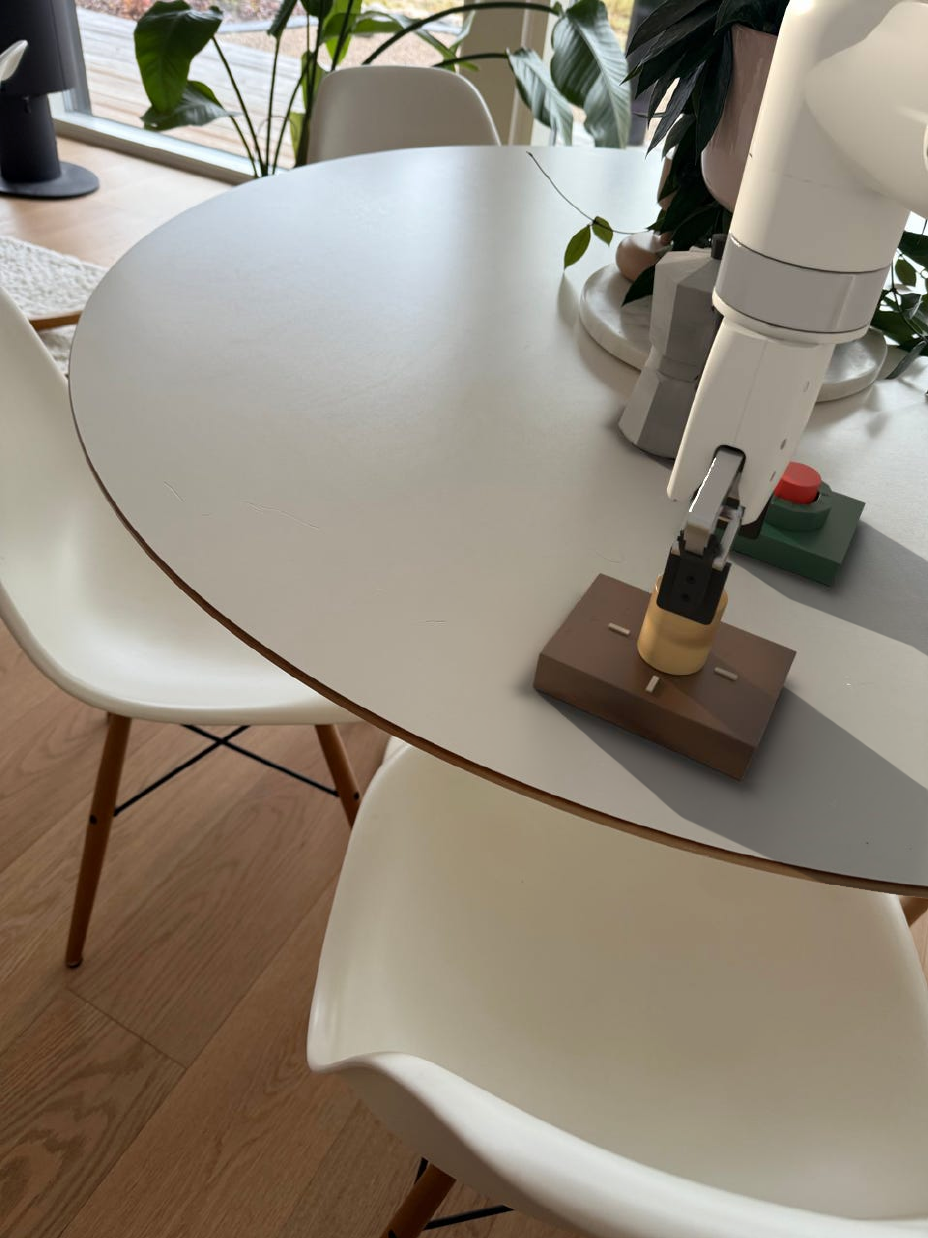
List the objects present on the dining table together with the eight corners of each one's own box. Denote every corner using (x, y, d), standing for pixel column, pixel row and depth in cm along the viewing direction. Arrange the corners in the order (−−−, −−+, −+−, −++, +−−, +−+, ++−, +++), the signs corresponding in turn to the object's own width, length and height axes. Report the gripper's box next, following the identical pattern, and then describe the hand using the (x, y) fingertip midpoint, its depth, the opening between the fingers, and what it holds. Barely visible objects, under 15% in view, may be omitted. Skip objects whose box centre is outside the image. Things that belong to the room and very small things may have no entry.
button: (818, 490, 79) (826, 471, 78) (808, 511, 77) (816, 492, 76) (774, 474, 81) (781, 456, 79) (763, 494, 78) (770, 475, 77)
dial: (651, 619, 66) (671, 555, 62) (714, 646, 64) (738, 581, 61) (626, 656, 63) (646, 591, 59) (692, 685, 61) (716, 620, 58)
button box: (856, 524, 83) (874, 483, 80) (830, 586, 76) (849, 544, 73) (729, 479, 86) (742, 438, 84) (693, 534, 79) (707, 492, 77)
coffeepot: (611, 392, 96) (656, 199, 84) (708, 404, 96) (766, 213, 85) (624, 480, 84) (678, 270, 72) (734, 493, 84) (805, 286, 73)
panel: (782, 684, 67) (798, 649, 65) (742, 781, 60) (757, 745, 58) (590, 604, 71) (599, 569, 69) (531, 687, 64) (539, 651, 62)
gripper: (766, 219, 55) (693, 485, 66) (664, 318, 43) (595, 626, 54) (905, 252, 53) (806, 523, 64) (840, 368, 40) (730, 679, 51)
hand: (709, 570), depth 59 cm, fingers open, 9 cm apart
